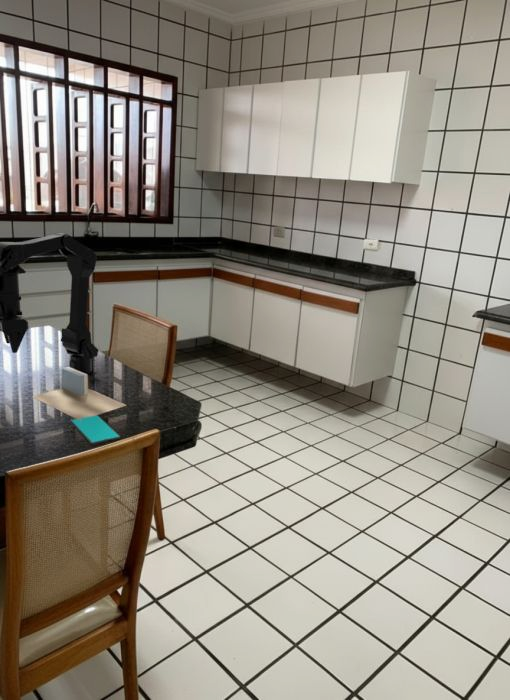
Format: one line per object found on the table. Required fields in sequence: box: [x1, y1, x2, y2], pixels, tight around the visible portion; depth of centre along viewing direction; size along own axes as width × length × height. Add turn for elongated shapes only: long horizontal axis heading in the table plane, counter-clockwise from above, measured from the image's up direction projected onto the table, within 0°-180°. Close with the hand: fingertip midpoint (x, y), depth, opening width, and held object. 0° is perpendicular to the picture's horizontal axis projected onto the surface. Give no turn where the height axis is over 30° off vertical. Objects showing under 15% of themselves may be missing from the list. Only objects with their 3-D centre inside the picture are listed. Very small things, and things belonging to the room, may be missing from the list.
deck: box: [61, 366, 89, 396], centre depth 154 cm, size 2×9×6 cm, turn 52°
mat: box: [31, 388, 127, 420], centre depth 148 cm, size 15×22×1 cm
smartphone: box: [69, 415, 122, 446], centre depth 132 cm, size 7×1×15 cm
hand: (11, 347), depth 146 cm, fingers open, 9 cm apart
